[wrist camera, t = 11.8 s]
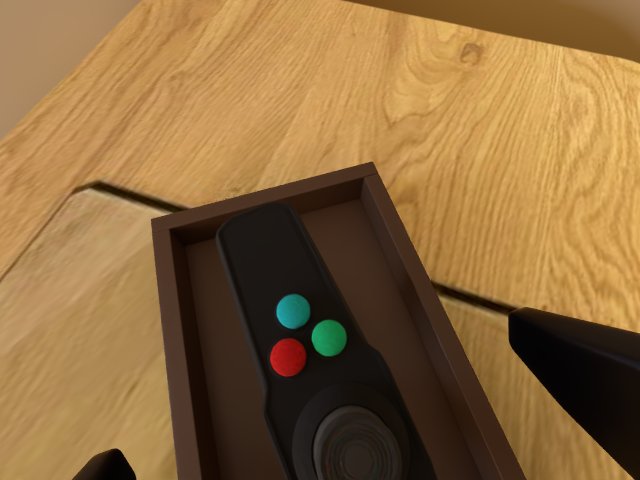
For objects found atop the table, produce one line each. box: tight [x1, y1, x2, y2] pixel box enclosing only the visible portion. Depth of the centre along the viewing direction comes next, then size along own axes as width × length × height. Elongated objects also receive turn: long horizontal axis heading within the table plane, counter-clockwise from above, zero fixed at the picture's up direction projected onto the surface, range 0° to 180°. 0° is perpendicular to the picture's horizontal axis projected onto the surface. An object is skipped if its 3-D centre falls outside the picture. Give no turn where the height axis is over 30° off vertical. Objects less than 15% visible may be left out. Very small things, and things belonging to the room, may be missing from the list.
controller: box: [215, 202, 438, 480], centre depth 13 cm, size 4×12×10 cm, turn 25°
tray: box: [151, 162, 526, 480], centre depth 17 cm, size 20×14×3 cm
